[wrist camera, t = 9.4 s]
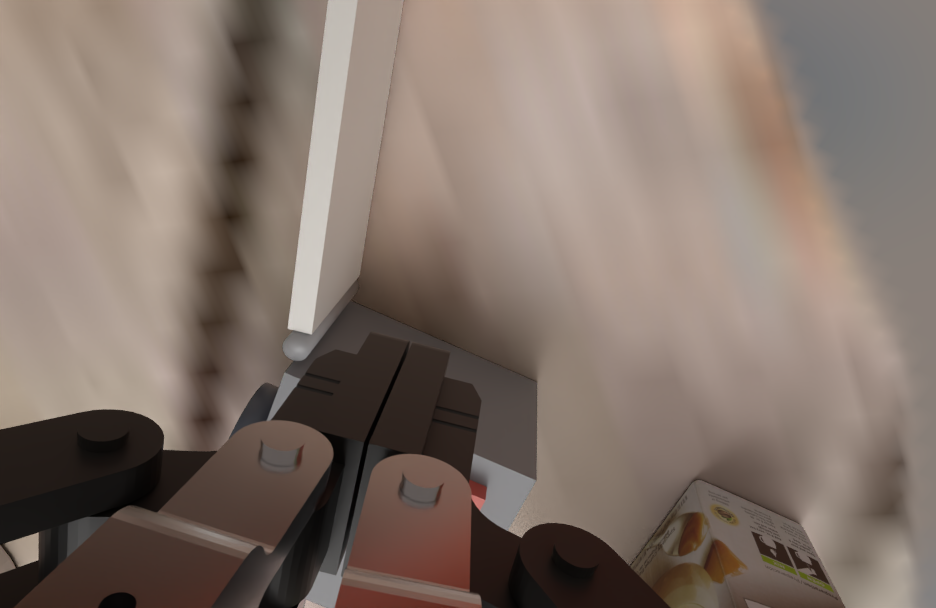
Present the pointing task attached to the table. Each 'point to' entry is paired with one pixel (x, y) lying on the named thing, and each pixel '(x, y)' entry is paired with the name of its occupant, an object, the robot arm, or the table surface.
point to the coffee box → (733, 556)
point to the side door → (341, 164)
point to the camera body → (498, 434)
